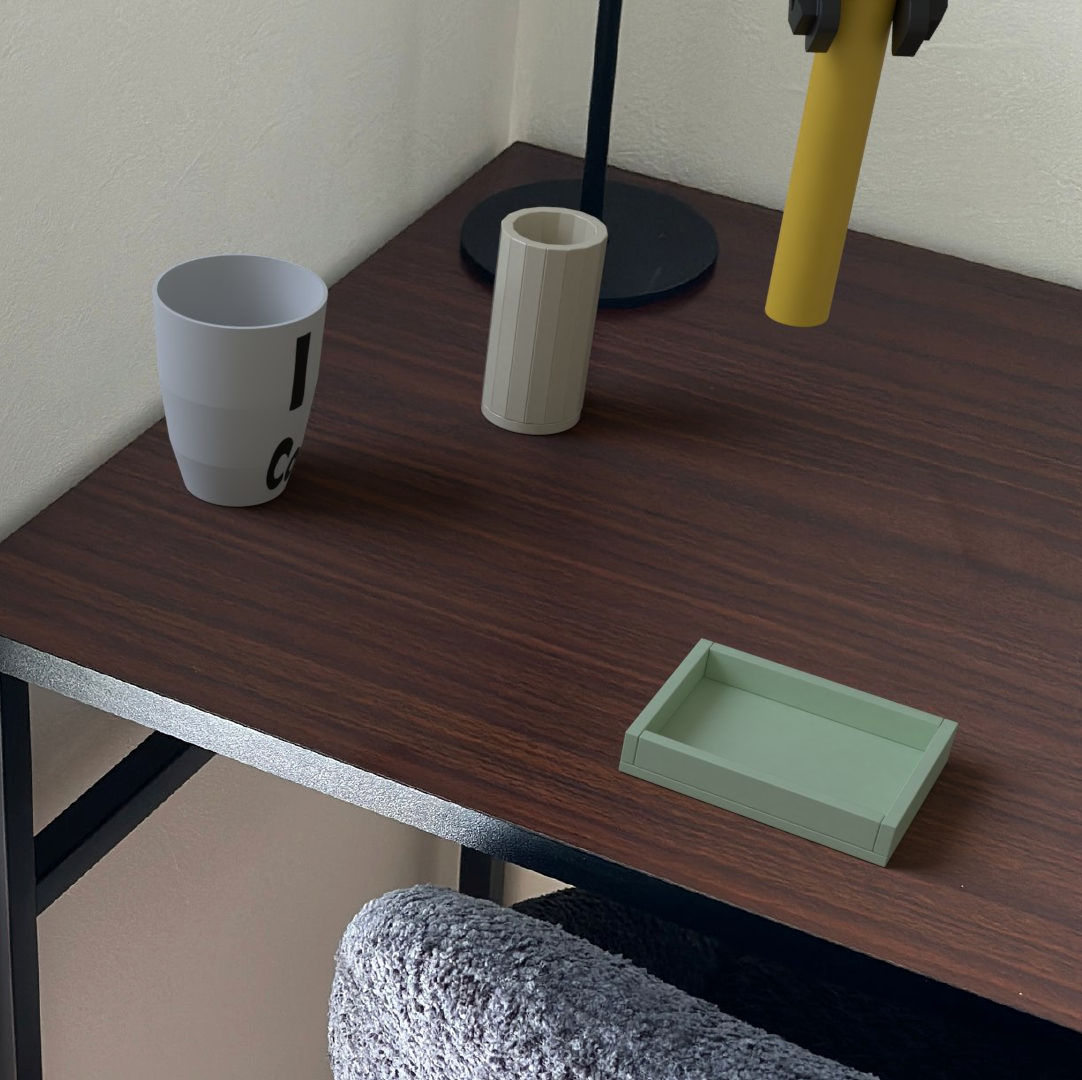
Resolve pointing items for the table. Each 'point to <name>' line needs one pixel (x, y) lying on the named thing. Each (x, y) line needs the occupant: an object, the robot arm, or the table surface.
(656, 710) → the tray
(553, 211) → the pencil holder
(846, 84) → the pencil
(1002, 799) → the table surface
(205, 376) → the cup
